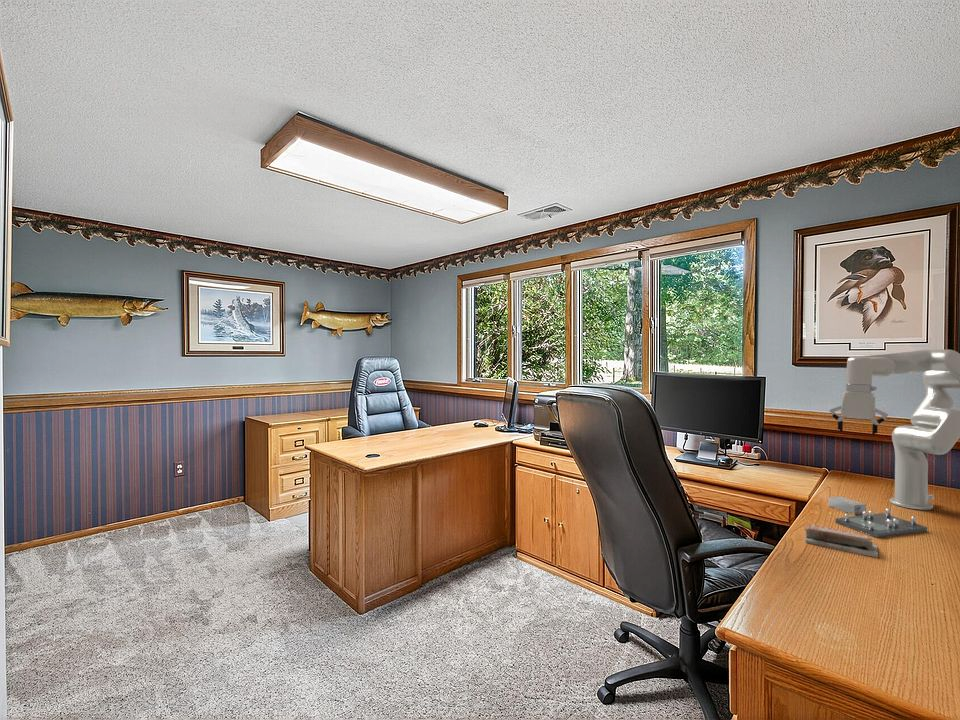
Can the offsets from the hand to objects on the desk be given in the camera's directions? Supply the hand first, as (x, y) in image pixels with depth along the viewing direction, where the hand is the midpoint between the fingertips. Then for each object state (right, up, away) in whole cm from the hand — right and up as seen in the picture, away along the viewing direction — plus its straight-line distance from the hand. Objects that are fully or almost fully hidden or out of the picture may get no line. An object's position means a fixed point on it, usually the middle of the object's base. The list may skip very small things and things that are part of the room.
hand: (857, 433), depth 175 cm
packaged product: (-30, -31, -30) cm, 53 cm away
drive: (-3, -30, +1) cm, 30 cm away
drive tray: (-5, -30, -16) cm, 35 cm away
